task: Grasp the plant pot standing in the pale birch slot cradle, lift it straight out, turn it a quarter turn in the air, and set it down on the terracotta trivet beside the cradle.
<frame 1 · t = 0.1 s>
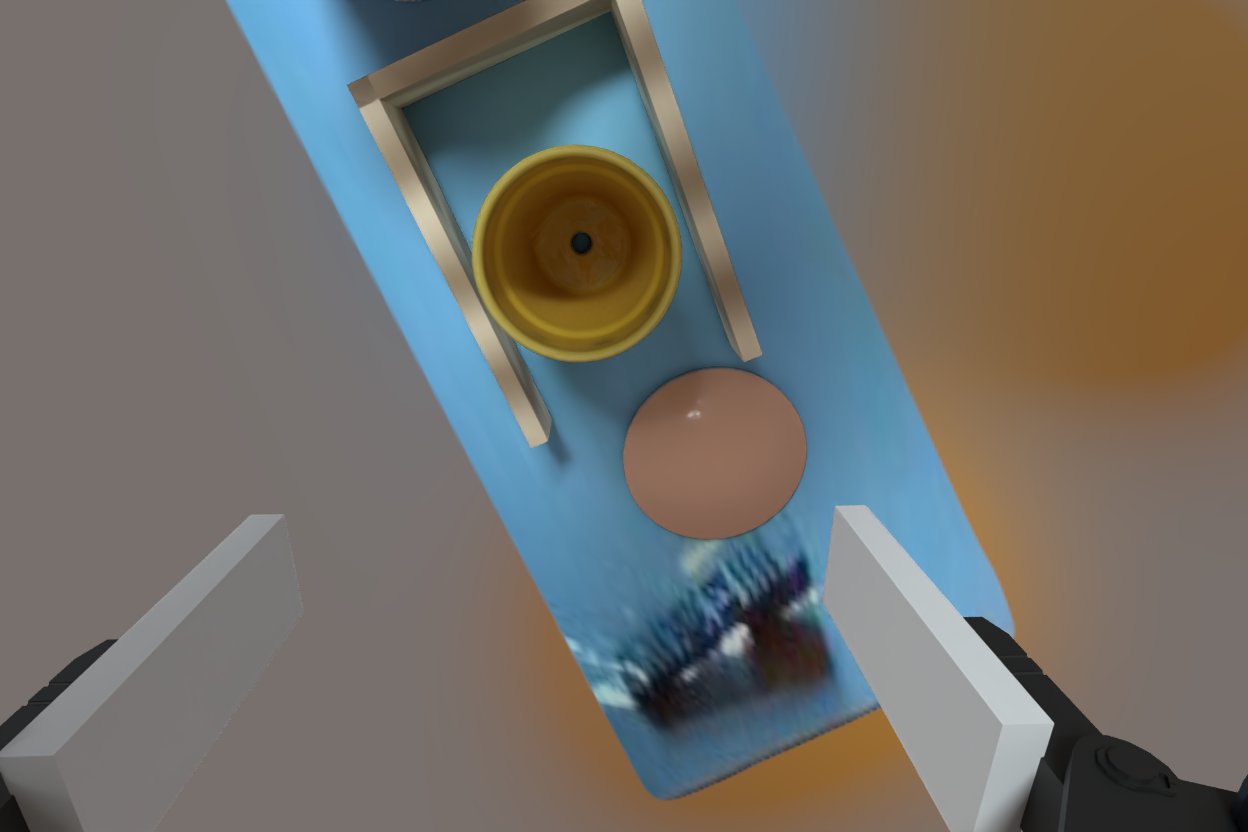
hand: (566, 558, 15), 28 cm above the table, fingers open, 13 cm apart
slot cradle: (581, 244, 39), on the table
plant pot: (581, 243, 40), on the table
trivet: (713, 454, 45), on the table
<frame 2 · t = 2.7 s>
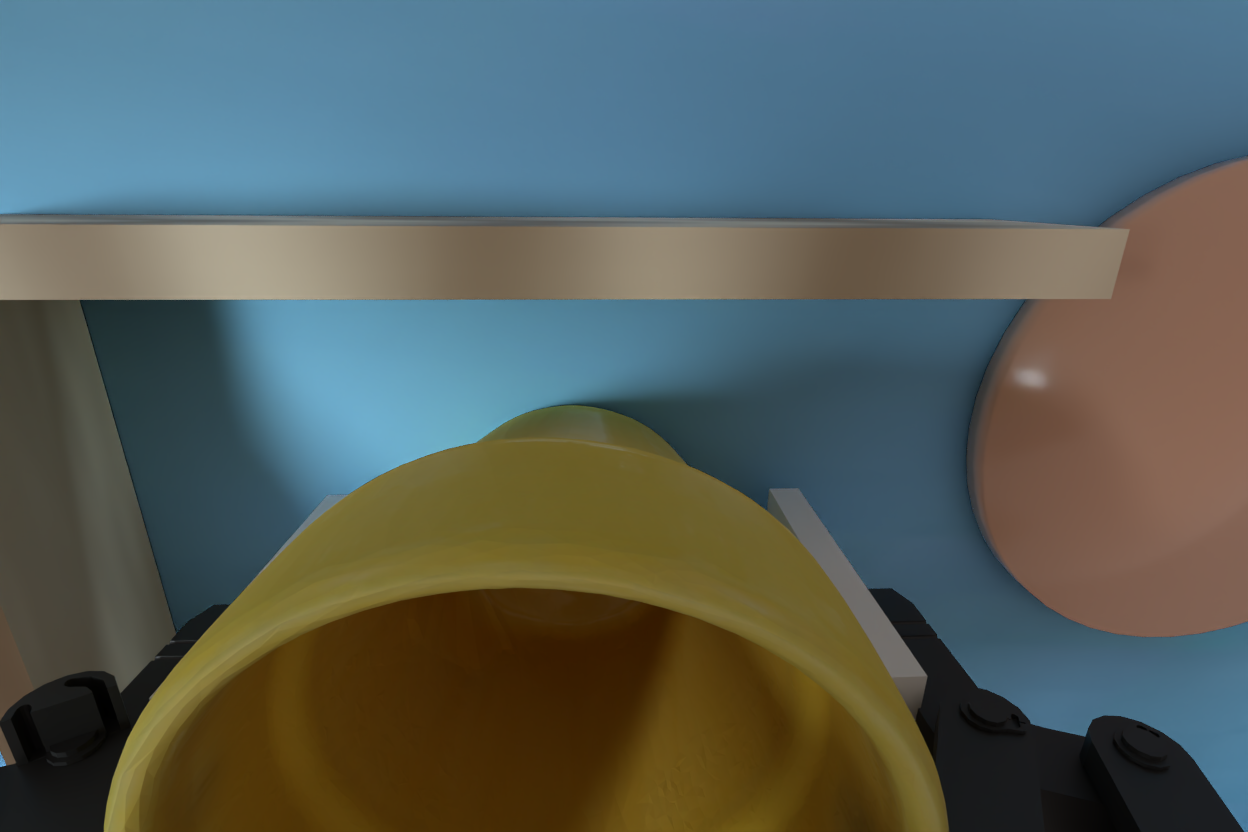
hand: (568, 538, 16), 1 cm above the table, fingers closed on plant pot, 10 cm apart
slot cradle: (569, 521, 17), on the table
plant pot: (570, 518, 17), on the table, touching gripper
trivet: (1209, 415, 17), on the table
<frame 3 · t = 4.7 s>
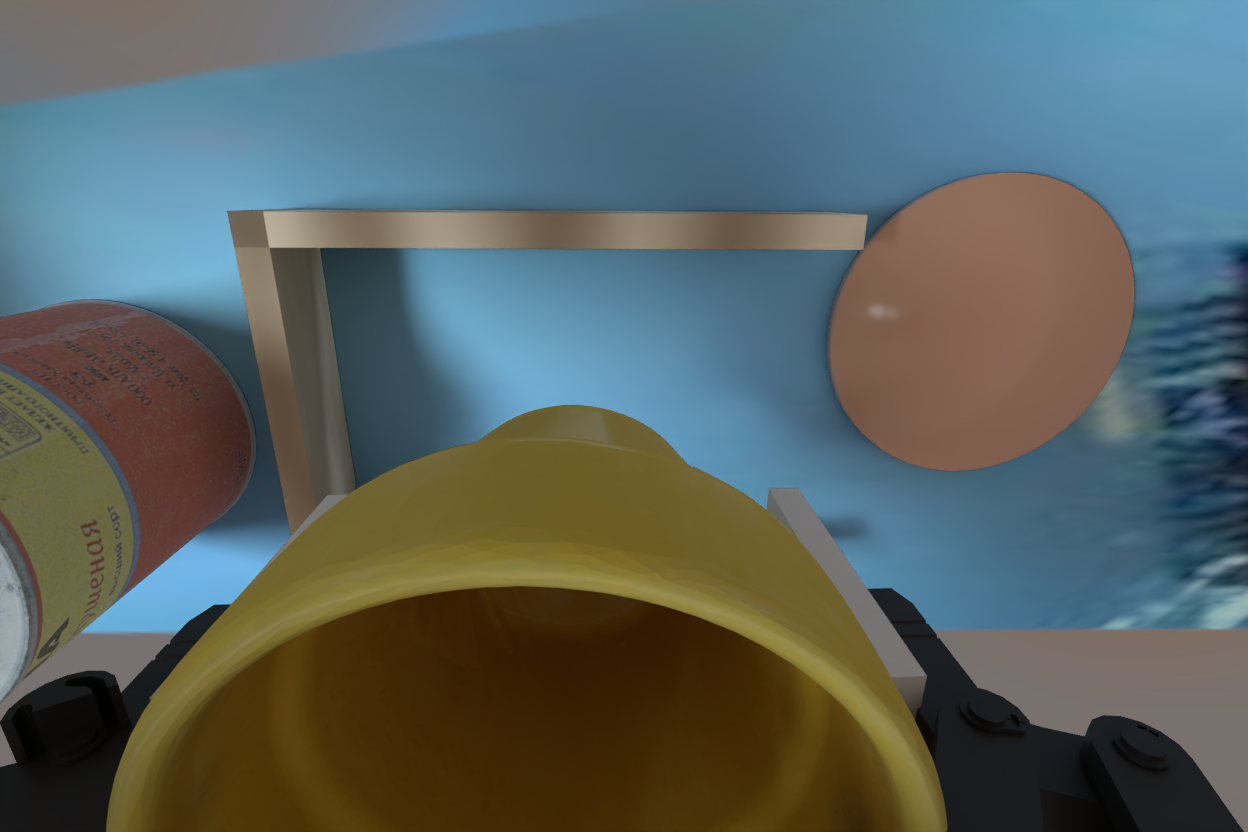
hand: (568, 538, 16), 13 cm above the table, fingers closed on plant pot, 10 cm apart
canned food: (130, 424, 28), on the table
slot cradle: (589, 392, 28), on the table
plant pot: (571, 517, 17), point 12 cm above the table, touching gripper
trivet: (972, 329, 28), on the table
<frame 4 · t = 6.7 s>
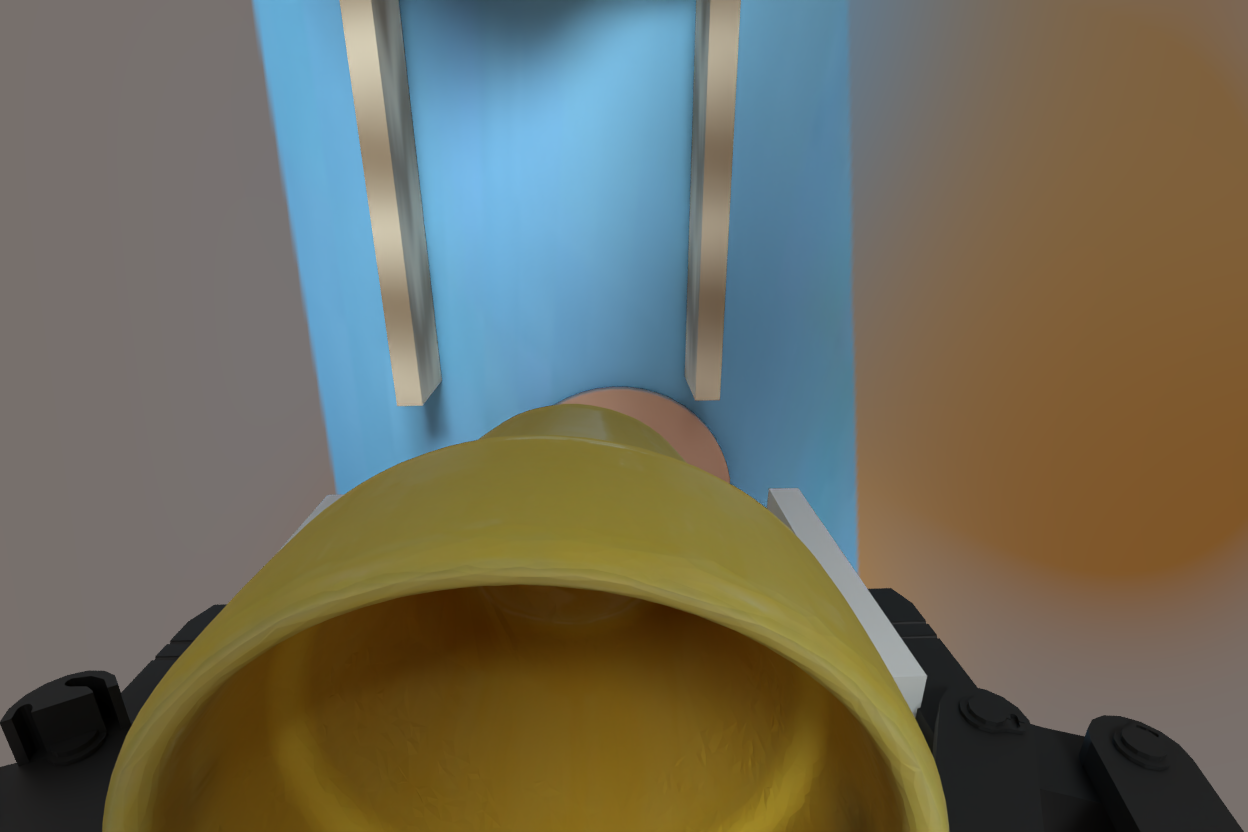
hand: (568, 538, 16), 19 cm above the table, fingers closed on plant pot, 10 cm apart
slot cradle: (556, 182, 30), on the table
plant pot: (570, 516, 17), point 18 cm above the table, touching gripper
trivet: (617, 491, 37), on the table
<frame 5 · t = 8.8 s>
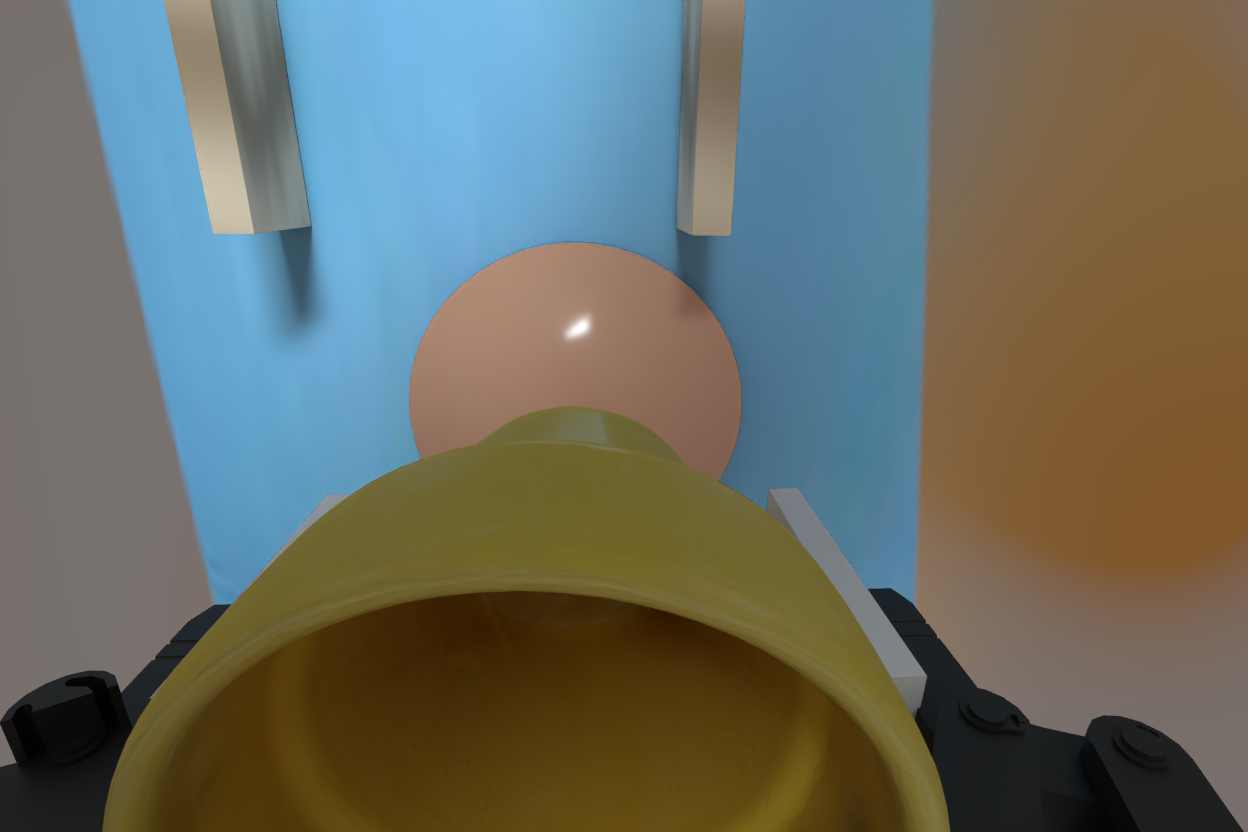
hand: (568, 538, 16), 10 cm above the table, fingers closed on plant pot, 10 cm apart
plant pot: (571, 519, 17), point 9 cm above the table, touching gripper
trivet: (578, 407, 25), on the table
when the fingers open (4 cm above the table, at t = 10.6 s): plant pot drops 2 cm, resting on trivet.
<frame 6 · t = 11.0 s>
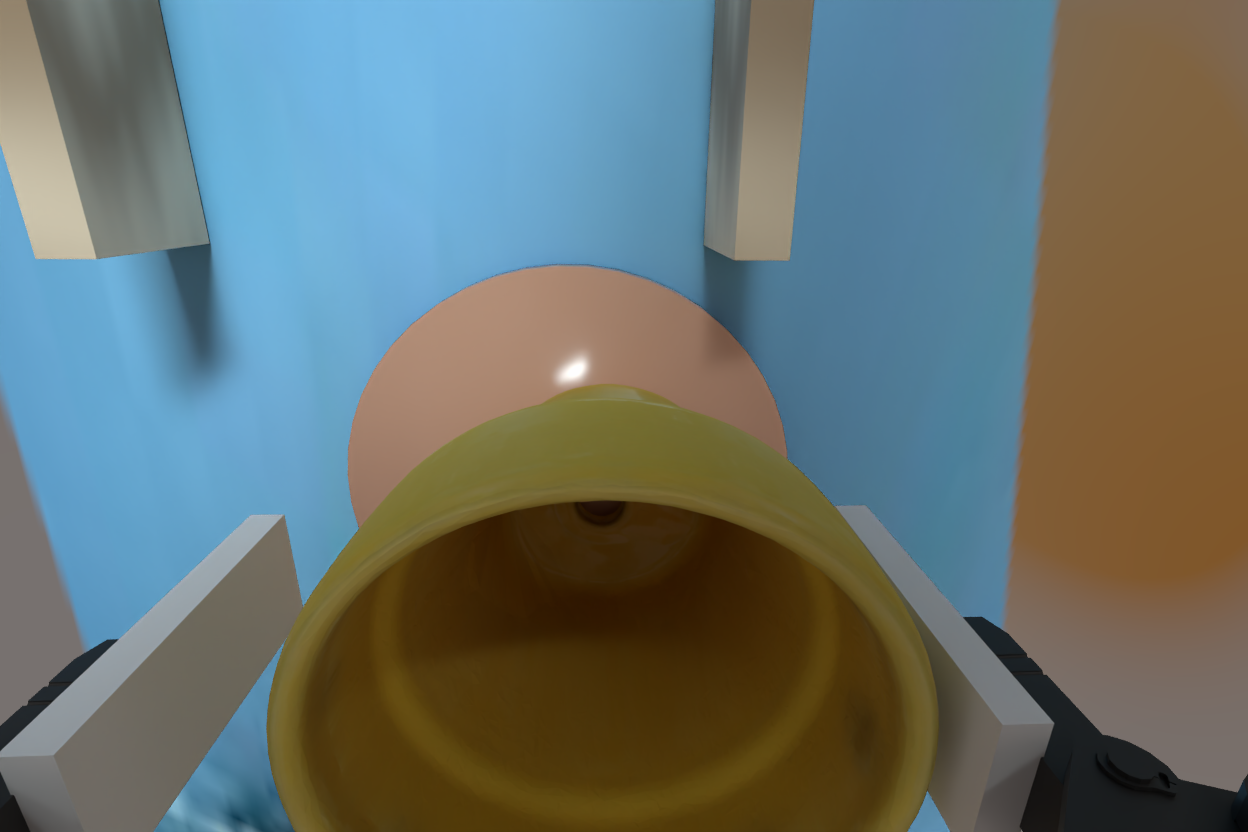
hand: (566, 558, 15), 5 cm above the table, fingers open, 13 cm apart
plant pot: (603, 487, 19), point 1 cm above the table, touching trivet
trivet: (572, 478, 19), on the table
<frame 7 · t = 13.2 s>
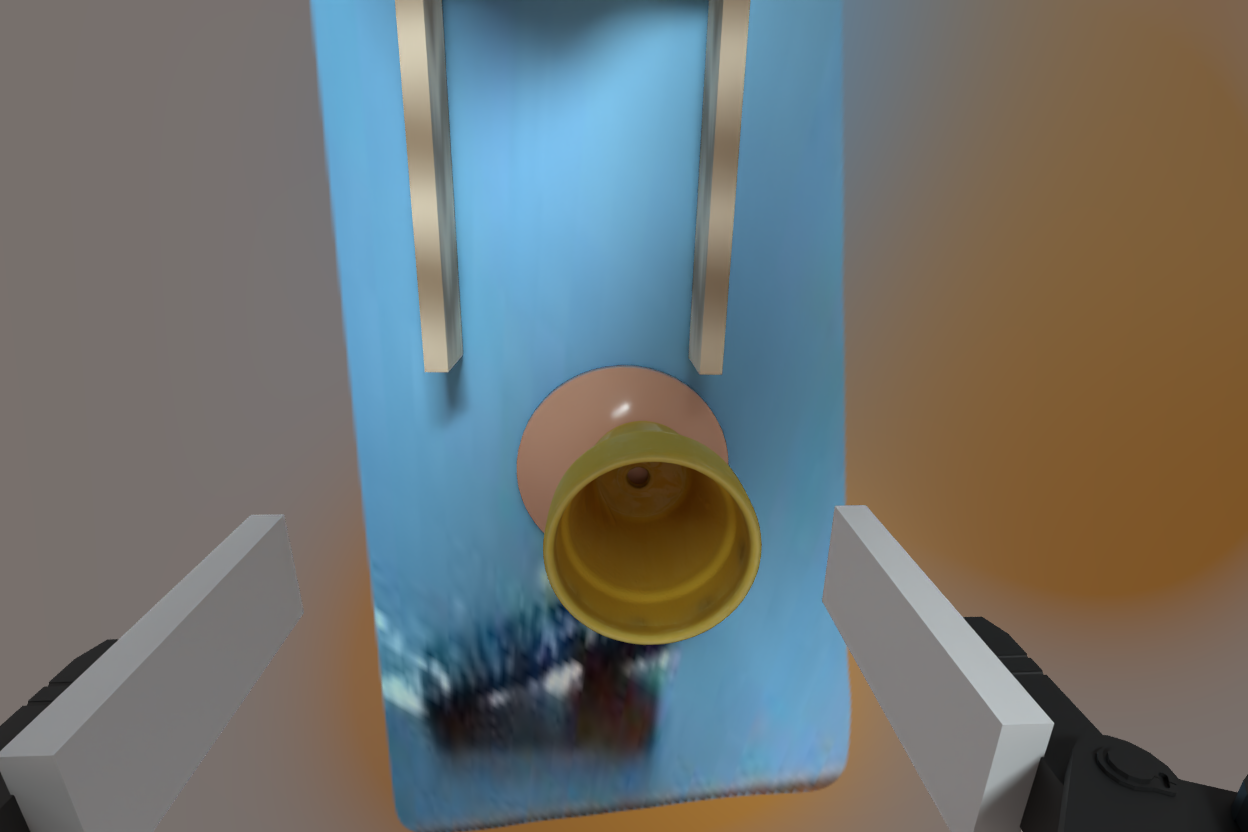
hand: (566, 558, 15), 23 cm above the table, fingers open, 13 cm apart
slot cradle: (576, 173, 33), on the table
plant pot: (638, 470, 38), point 1 cm above the table, touching trivet
trivet: (622, 466, 39), on the table
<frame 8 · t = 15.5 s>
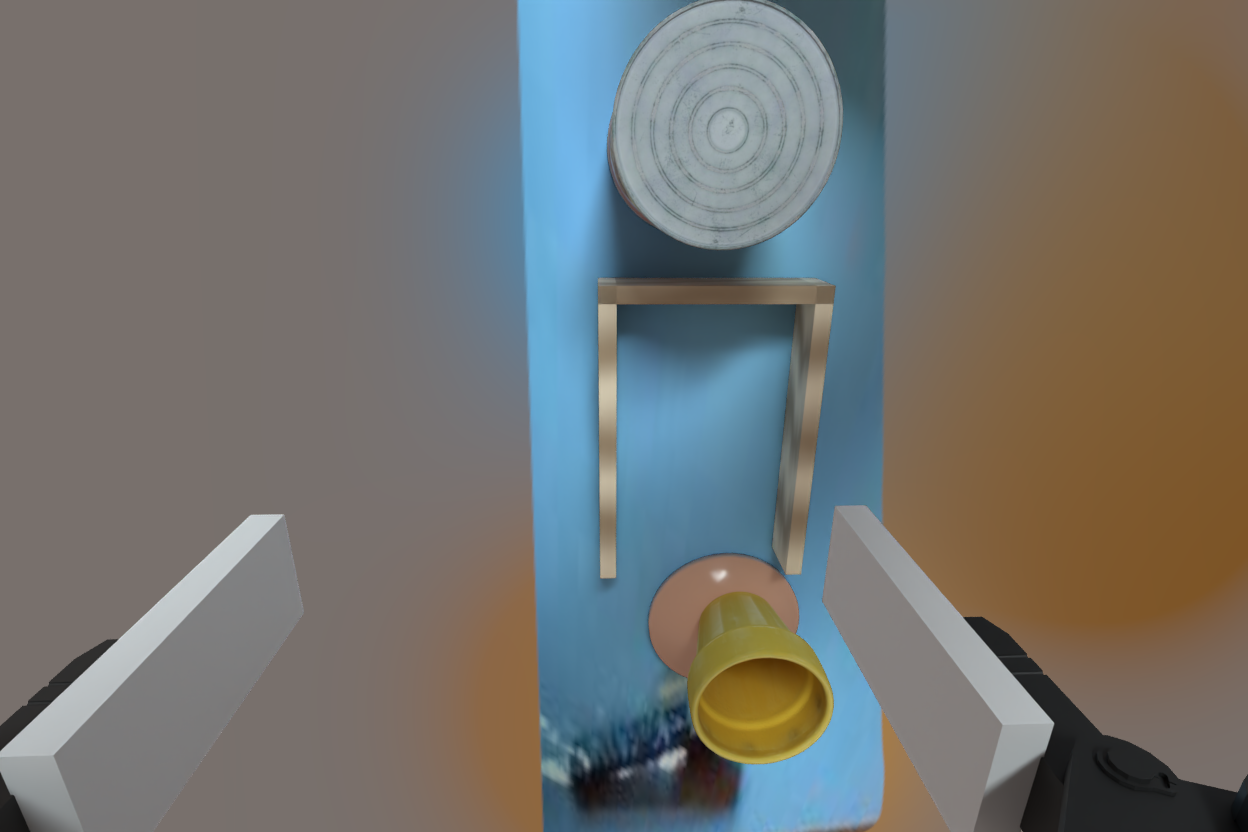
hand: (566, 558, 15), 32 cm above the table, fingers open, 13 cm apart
canned food: (691, 147, 42), on the table
slot cradle: (699, 436, 49), on the table
plant pot: (734, 622, 54), point 1 cm above the table, touching trivet
trivet: (722, 617, 54), on the table
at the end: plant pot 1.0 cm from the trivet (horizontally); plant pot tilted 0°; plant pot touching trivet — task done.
